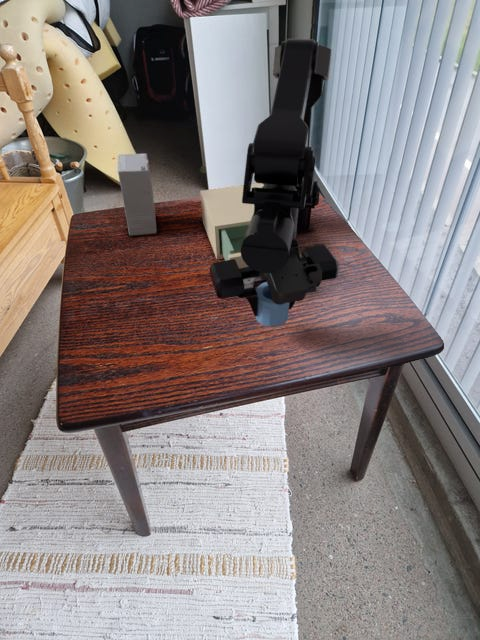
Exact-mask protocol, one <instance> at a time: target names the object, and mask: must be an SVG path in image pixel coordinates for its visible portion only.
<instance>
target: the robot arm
mask: <svg viewBox="0 0 480 640" xmlns="http://www.w3.org/2000/svg"><path fill="white" fill-rule="evenodd" d="M273 57H274V58H273V70H272V76H273V77H274V78H275V79H277V82H276V88H275V92H274V96H273V101H272V106H271V110H270V114H269V116H268V117H266V118H265V119H264V120H262V121H261V122H260V123H258V125H257V128H256V131H255V135H254V137H253V142H249V143H248V147H247V152H246V160H245V169H244V177H243V185H244V186H243V196H242V203H244V204H254V214H253V216H252V218H251V221H250V223H249V226H248V229H247V232H246V234H245V237H244V240H243V243H242V245H241V256H242V258H243V261H244V262H245V263H246V264H247V265H248V266H249V267H245V268H239V267H238V265H237V262H236V260H235V259H232V260H226V261H225V260H220V261H215V262H212V263H211V265H210V266H209V277H210V280H211V283H212V286H213V289H214V292H215V294H216V297H217V298H218V299H221V300H225V299H231V298H235V297H237V298H239V299H246V300H247V302H248V304H249V306H250V308H251V311H252V313H253V316H254V317H256V316H257V313H258V308H257V299H256V296H257V295H258V294H257V291H256V289H257V288H256V287H255V285H254V284H255V282H258V281H257V280H261V281H266V282H267V284H268V287H269V290H270V293H271V298H272V301H273V302H274V303H275V304H278V305H282V304H285V303H289V302H290V303H289V311H290V310H292V308H293V307H294V305H295V303H296V302H302V301H304V299H305V298H306V296H307V294H308V293H309V294H310V293H315V292H317V288H319V287H320V286H321V284H322V281H328V280H334V279H336V278H337V277H338V273H339V268H340V266H339V261H338V259H337V258H336V257H335V255H334V254H333V253H332V252H331V250H330V249H329V247H328V246H327V245H326V244H325V243H322V244H315V245H312V246H311V245H310V246H304V247H301V249H300V247H299V246H300V243H299V241H298V239H297V234H302V233H309V232H312V231H313V227H312V226H311V217H312V216H311V215H312V209H315V208H316V206H318V205H319V202H320V194H321V188H320V186H319V182H318V180H316V162H317V157H316V155H314V150H313V146H311V139H312V138H311V137H312V125H313V124H312V122H313V113H314V111H313V110H314V106H315V105H316V103H318V102H319V101H320V99H321V98H322V96H323V91H324V86H325V85H324V84H325V81H329V78H330V70H331V61H332V49H331V48H329V47H326V46H325V45H322V44H320V43H319V41H315V39H313V38H287V39H285V40H282V41H281V44H280V45H278V46H276V47H274V56H273ZM253 181H254V183H262V184H264V186H263V187H262V188H257V187H253V188H252V191H250V190H251V184H253Z"/></svg>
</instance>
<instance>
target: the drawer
mask: <svg viewBox="0 0 480 640" xmlns="http://www.w3.org/2000/svg"><path fill="white" fill-rule="evenodd" d="M248 226H249V225H242V226H236V227H229V228H223V229H219V243H220V249H221V251H222V254H223V256H224V258H223V259H224V261H226V260H232V259H235V260H236V262H237V265H238V267H239V268H245V267H249V266H248V265H247V264H246V263H245V262H244V261H243V258H242V256H241V245H242V243H243V240H244V237H245V234H246V232H247V229H248ZM260 281H262V280H257V281H256V282H260Z"/></svg>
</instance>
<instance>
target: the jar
mask: <svg viewBox="0 0 480 640" xmlns="http://www.w3.org/2000/svg"><path fill="white" fill-rule="evenodd" d="M255 289H256V291H257V294H258V295H257V296H256V299H257V308H258V313H257V316H255V319H256V321H257V322H258V323H259V324H260V325H261V326H264V327H267V328H278V327H281V326H284V325H285V323H287V322H288V319H289V313H290V310H289V303H290V302H289V303H285V304H282V305H278V304H275V303H274V302H273V301H272V298H271V293H270V290H269V287H268V284H267V281H266V282H262V283H261V284H259V285H258V286H257V287H256V288H255Z"/></svg>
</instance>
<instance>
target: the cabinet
mask: <svg viewBox="0 0 480 640" xmlns="http://www.w3.org/2000/svg"><path fill="white" fill-rule="evenodd" d="M264 185H265V184H262V183H256V182H254V183H252V184H251V190H250V191H252V188H253V187H257V188H262V187H263V186H264ZM243 186H244V184H240V185H233V186H226V187H218V188H217V187H216V188H211V189H203V190H200V191H199V196H200V206H201V218H202V224H203V227H204V229H205V232H206V235H207V237H208V240H209V243H210V245H211V249H212V250H213V254H214V256H215V259H216V260H222V259H224V256H223V254H222V251H221V249H220V243H219V229H223V228H229V227H236V226H242V225H249V223H250V221H251V218H252V216H253V214H254V204H244V203H242V196H243Z"/></svg>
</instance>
